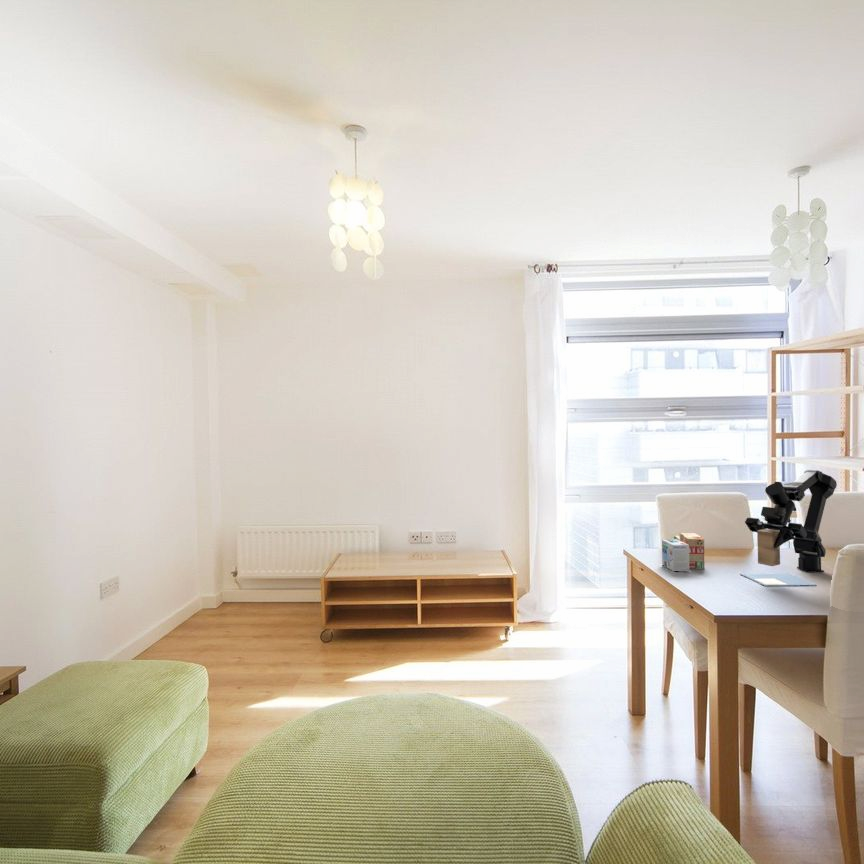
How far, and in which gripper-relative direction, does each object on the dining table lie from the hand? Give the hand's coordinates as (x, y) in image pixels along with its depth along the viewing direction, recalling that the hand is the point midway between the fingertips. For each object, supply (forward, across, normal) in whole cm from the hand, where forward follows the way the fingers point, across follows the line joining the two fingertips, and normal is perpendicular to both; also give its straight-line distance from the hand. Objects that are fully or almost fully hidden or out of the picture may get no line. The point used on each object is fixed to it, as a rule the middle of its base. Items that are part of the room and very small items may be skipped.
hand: (766, 546), depth 183 cm
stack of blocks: (+6, -34, +13) cm, 37 cm away
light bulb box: (+16, -30, +4) cm, 34 cm away
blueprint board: (+5, 0, +14) cm, 15 cm away
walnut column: (+4, 0, +6) cm, 7 cm away
